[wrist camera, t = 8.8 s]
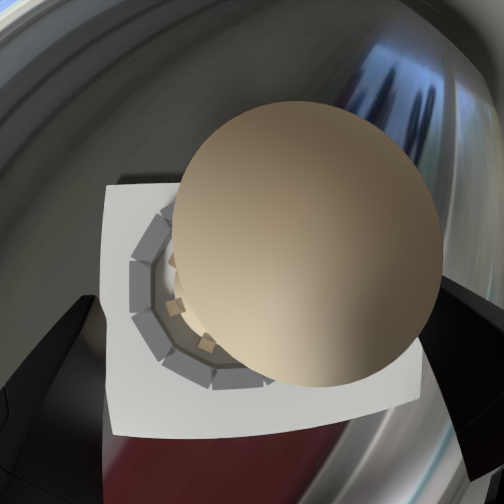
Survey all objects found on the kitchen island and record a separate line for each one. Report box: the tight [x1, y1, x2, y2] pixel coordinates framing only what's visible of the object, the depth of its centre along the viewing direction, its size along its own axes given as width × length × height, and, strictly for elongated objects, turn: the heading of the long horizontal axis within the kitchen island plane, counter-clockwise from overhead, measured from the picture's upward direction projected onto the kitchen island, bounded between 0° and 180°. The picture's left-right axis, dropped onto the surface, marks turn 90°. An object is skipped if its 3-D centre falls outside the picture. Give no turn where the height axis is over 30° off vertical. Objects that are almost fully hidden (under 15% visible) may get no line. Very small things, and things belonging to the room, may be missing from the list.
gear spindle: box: [165, 101, 443, 387], centre depth 10 cm, size 8×8×14 cm
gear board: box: [100, 183, 422, 439], centre depth 17 cm, size 16×22×4 cm
